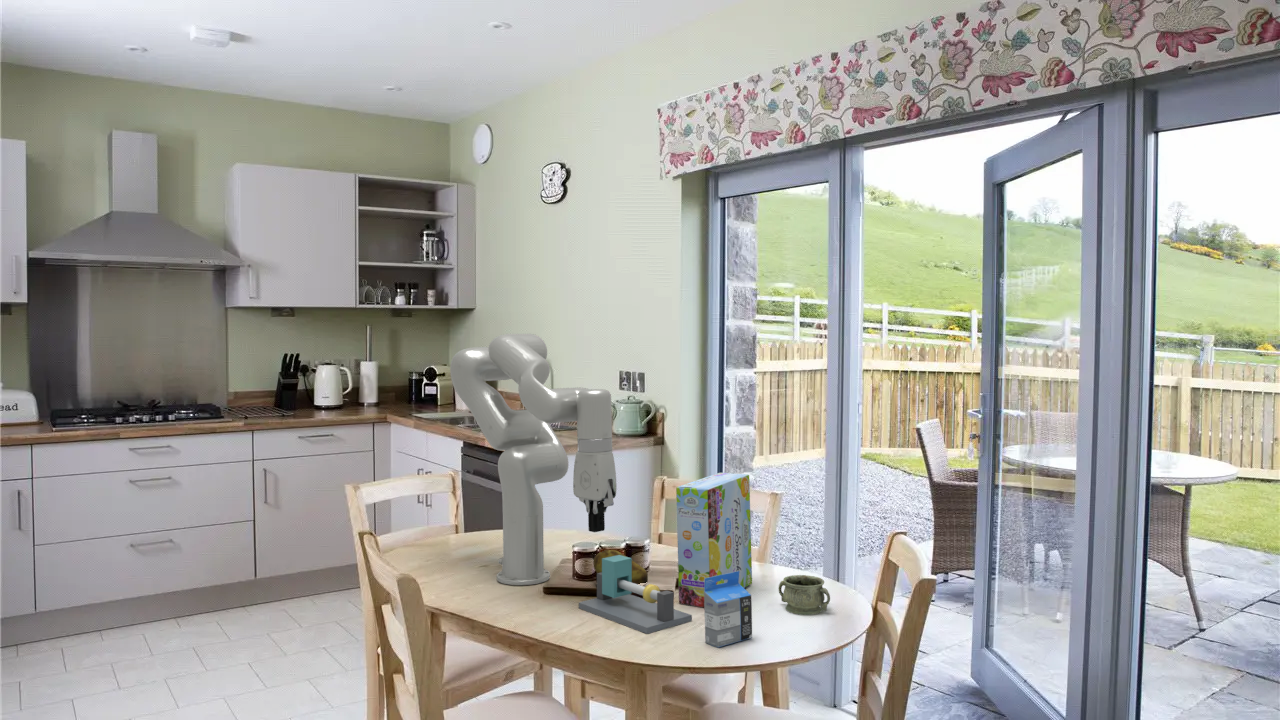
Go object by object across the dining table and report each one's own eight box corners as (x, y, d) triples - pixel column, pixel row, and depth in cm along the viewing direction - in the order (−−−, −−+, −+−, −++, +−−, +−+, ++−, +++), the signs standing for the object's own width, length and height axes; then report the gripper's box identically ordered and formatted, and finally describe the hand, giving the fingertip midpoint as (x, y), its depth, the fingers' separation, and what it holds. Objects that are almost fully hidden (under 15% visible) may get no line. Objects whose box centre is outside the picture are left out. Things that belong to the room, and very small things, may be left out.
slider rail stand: (578, 608, 191) (578, 573, 191) (622, 597, 199) (622, 564, 199) (647, 633, 175) (646, 596, 174) (691, 620, 182) (691, 584, 182)
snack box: (719, 580, 213) (719, 471, 212) (753, 585, 208) (753, 474, 207) (674, 604, 194) (674, 484, 193) (711, 610, 190) (711, 488, 189)
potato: (625, 595, 200) (625, 559, 200) (587, 584, 209) (587, 550, 209) (652, 588, 206) (652, 553, 206) (614, 577, 215) (614, 544, 215)
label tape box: (717, 648, 166) (717, 582, 166) (703, 642, 170) (703, 577, 169) (752, 639, 172) (752, 574, 171) (738, 633, 175) (738, 570, 174)
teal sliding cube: (602, 593, 191) (601, 558, 191) (619, 589, 194) (619, 554, 194) (614, 597, 188) (613, 562, 188) (631, 593, 191) (631, 558, 191)
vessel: (768, 609, 190) (768, 579, 190) (788, 599, 197) (788, 571, 197) (820, 620, 183) (820, 589, 182) (839, 609, 190) (839, 580, 189)
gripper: (560, 445, 199) (562, 528, 199) (602, 450, 187) (604, 538, 188) (587, 442, 204) (589, 523, 204) (630, 447, 192) (632, 533, 193)
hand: (596, 530), depth 196 cm, fingers closed
